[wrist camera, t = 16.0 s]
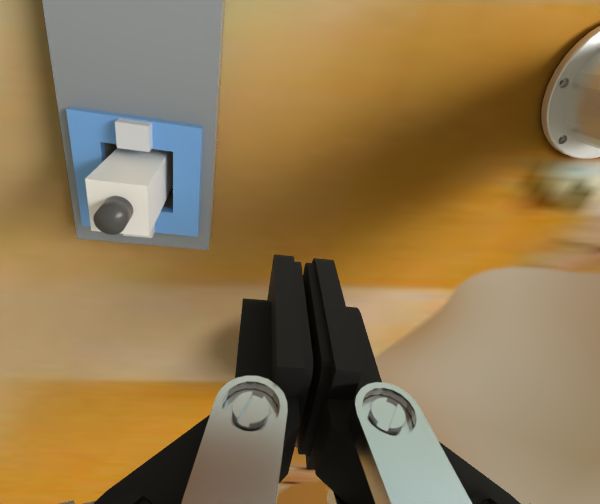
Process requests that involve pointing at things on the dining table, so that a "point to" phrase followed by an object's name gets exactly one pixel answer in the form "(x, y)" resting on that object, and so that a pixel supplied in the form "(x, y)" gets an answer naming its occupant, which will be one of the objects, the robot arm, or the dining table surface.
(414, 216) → the dining table surface
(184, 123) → the board
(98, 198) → the cord plug
